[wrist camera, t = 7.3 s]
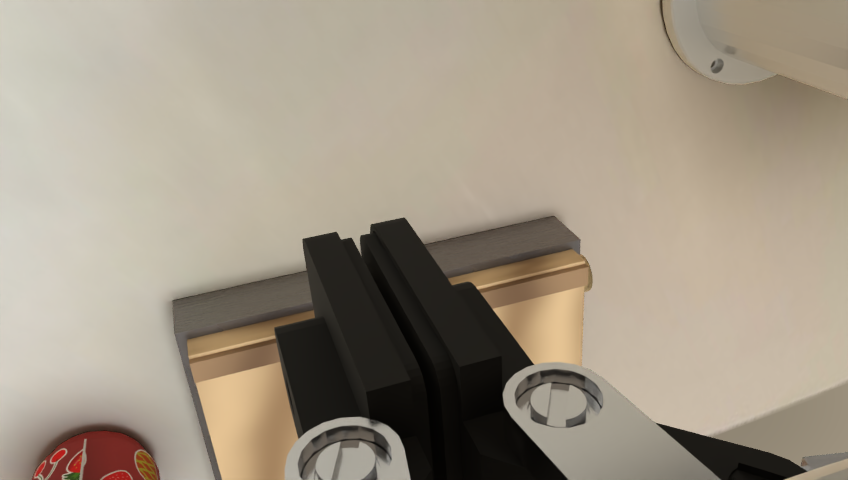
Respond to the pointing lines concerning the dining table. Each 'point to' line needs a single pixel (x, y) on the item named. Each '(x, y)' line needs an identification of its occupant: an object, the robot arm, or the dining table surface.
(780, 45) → the robot arm
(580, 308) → the tan flat piece
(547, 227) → the stand
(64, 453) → the smoothie
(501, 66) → the dining table surface
